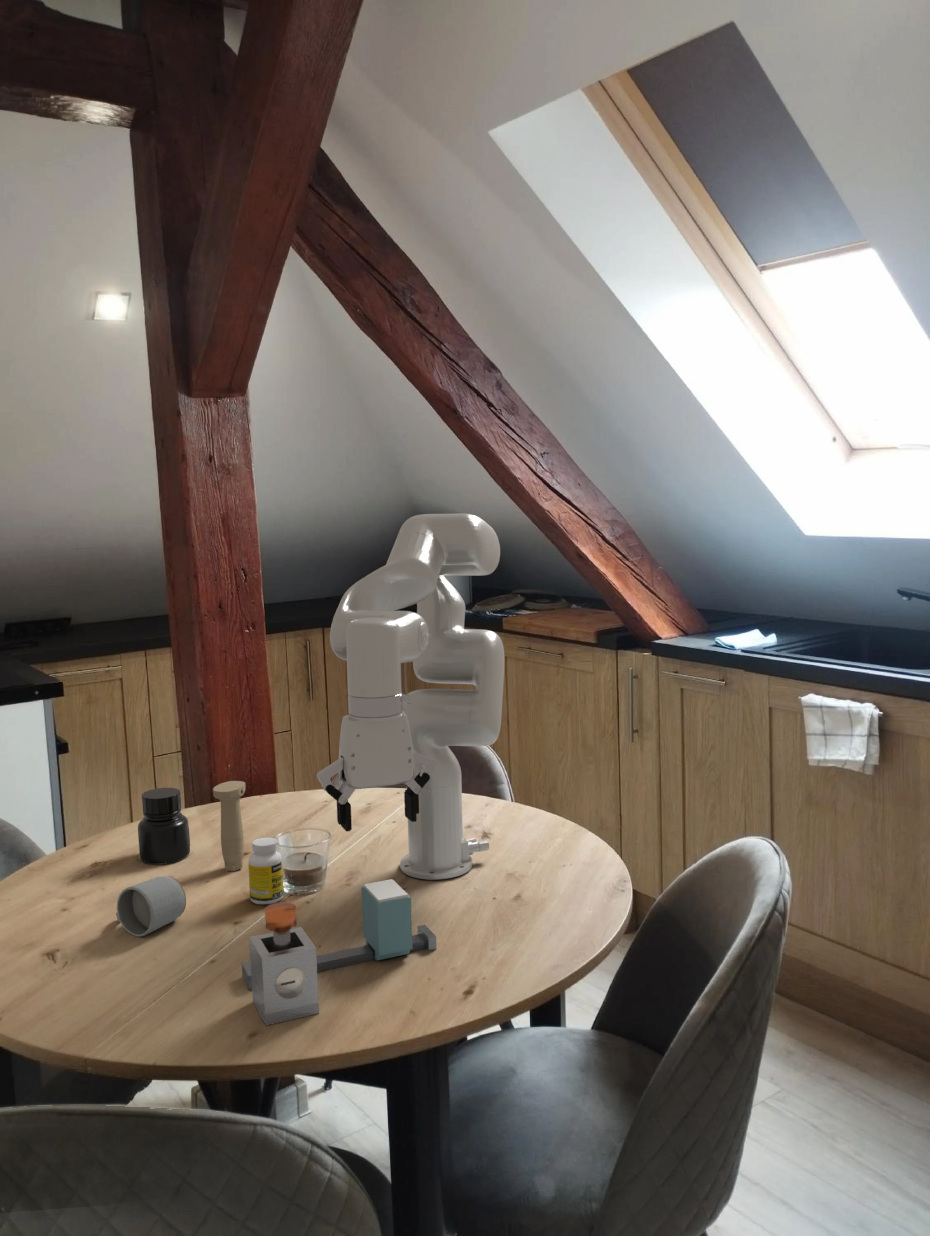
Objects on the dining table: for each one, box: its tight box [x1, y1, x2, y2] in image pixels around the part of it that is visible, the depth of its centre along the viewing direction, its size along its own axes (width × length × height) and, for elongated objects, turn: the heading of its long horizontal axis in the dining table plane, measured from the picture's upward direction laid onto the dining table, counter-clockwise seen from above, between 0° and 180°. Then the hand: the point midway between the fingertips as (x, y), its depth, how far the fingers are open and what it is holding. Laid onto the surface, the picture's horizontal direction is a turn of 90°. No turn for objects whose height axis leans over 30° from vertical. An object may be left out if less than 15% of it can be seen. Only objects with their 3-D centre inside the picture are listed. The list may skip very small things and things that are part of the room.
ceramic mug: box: [115, 875, 187, 937], centre depth 168 cm, size 11×8×8 cm
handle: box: [212, 780, 246, 872], centre depth 190 cm, size 5×6×15 cm
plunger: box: [264, 901, 298, 952], centre depth 140 cm, size 4×4×8 cm
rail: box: [241, 924, 437, 991], centre depth 154 cm, size 27×4×2 cm, turn 114°
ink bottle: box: [137, 787, 191, 865], centre depth 197 cm, size 10×9×12 cm
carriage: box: [360, 878, 413, 961], centre depth 156 cm, size 5×7×9 cm
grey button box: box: [248, 926, 320, 1027], centre depth 141 cm, size 7×7×9 cm
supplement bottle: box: [247, 837, 284, 905], centre depth 177 cm, size 5×5×10 cm
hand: (378, 824), depth 154 cm, fingers open, 9 cm apart
